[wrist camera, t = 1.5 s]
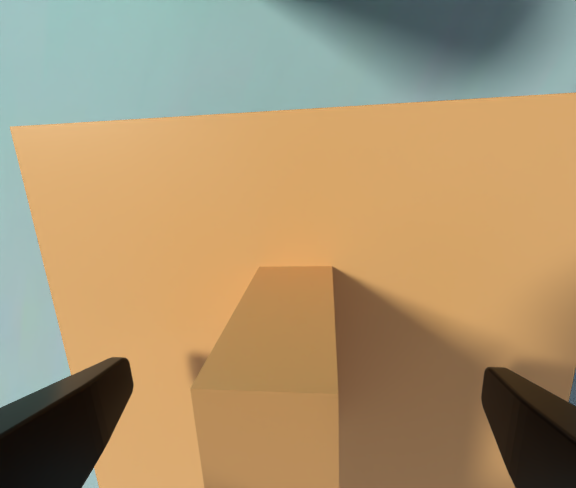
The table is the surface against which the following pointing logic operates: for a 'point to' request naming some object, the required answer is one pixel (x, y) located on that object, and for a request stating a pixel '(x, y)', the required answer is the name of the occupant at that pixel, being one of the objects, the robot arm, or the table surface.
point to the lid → (312, 284)
